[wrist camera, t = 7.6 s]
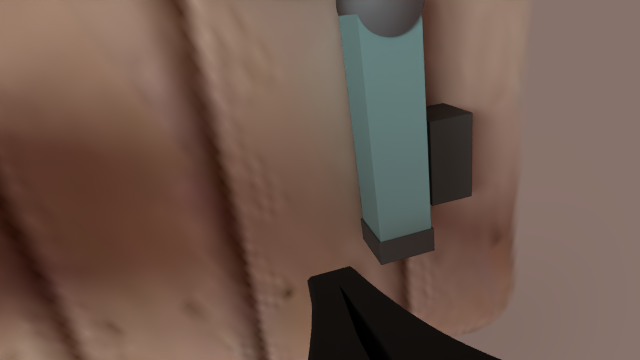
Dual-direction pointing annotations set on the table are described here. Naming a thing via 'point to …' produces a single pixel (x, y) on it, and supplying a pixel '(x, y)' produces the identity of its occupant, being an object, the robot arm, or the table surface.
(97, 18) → the table surface
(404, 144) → the stool leg
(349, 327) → the robot arm
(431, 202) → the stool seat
